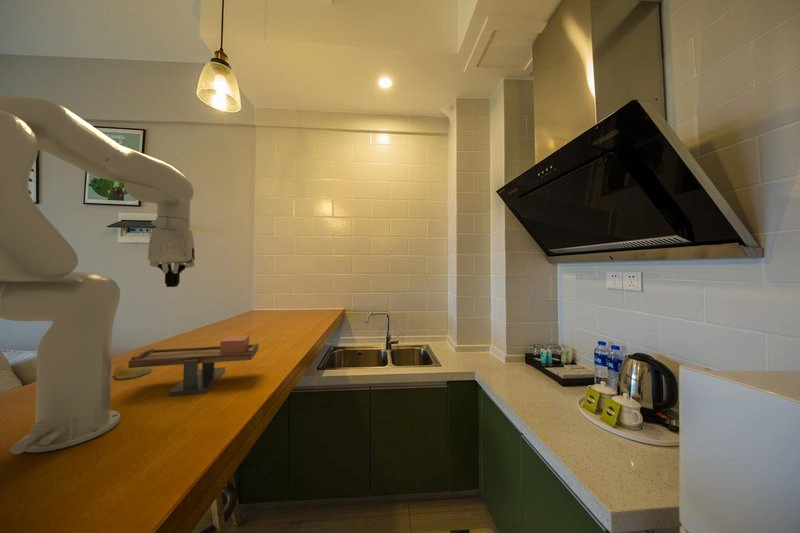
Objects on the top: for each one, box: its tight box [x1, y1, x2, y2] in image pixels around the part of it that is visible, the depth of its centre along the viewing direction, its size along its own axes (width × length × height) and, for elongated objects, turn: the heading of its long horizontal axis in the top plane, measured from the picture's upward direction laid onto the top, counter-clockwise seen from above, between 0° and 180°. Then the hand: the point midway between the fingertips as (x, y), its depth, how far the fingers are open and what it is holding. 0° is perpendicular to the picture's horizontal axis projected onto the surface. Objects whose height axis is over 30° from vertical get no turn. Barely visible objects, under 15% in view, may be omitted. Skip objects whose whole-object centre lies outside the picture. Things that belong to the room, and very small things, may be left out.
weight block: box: [219, 335, 250, 354], centre depth 81 cm, size 6×6×4 cm
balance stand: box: [168, 345, 226, 398], centre depth 78 cm, size 16×8×8 cm, turn 17°
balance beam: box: [128, 342, 259, 368], centre depth 78 cm, size 11×28×3 cm, turn 107°
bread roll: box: [113, 360, 153, 380], centre depth 84 cm, size 8×9×4 cm
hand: (172, 286), depth 81 cm, fingers closed
